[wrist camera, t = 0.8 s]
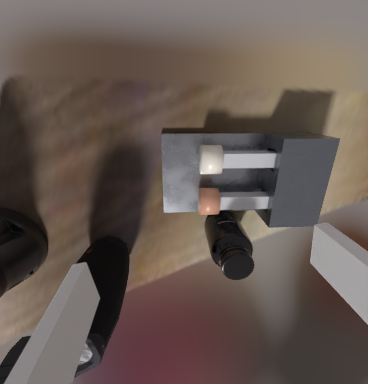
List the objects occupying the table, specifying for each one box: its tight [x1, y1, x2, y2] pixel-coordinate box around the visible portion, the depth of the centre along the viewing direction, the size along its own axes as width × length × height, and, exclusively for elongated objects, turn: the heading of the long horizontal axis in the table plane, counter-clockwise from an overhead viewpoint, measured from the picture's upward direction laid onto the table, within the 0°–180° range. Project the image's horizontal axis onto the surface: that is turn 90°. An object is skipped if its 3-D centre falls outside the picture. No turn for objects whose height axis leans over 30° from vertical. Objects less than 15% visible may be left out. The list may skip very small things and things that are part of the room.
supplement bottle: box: [205, 211, 254, 280], centre depth 37 cm, size 7×7×12 cm
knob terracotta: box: [198, 188, 270, 215], centre depth 36 cm, size 13×4×4 cm, turn 90°
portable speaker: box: [74, 237, 130, 378], centre depth 34 cm, size 9×9×20 cm
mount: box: [161, 133, 340, 227], centre depth 35 cm, size 25×14×7 cm, turn 90°
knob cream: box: [199, 145, 277, 174], centre depth 33 cm, size 13×4×4 cm, turn 90°
